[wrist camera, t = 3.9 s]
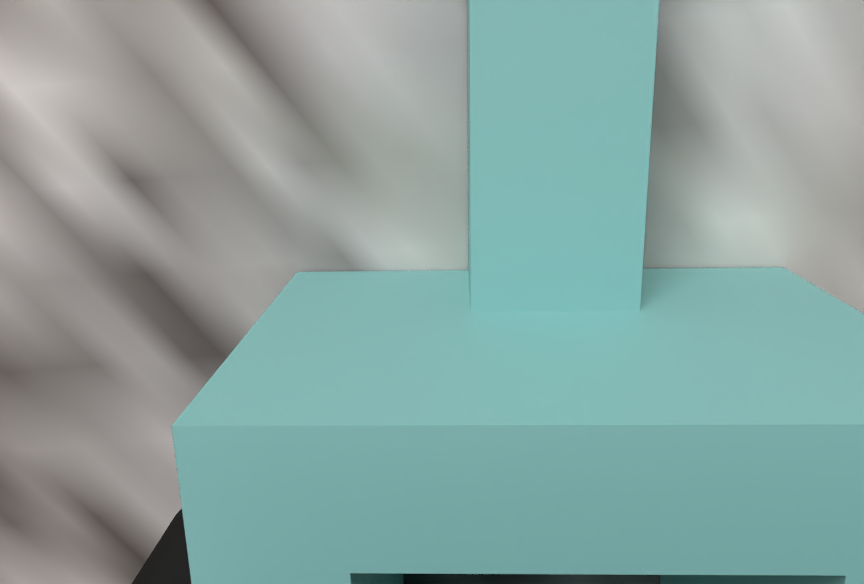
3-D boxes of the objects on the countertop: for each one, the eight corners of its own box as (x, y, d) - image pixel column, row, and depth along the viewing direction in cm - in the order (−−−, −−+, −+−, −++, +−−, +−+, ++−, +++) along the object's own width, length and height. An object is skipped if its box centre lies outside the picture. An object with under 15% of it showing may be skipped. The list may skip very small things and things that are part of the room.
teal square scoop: (736, 668, 13) (910, 1034, 8) (324, 665, 13) (246, 1016, 8) (838, -216, 9) (1278, -552, 4) (264, -196, 9) (53, -492, 4)
